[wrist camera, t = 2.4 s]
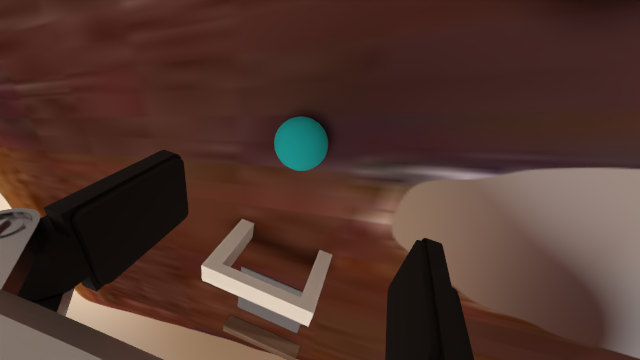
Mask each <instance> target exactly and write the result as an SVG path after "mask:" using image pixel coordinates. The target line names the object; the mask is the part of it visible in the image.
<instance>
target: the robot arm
mask: <svg viewBox="0 0 640 360" xmlns="http://www.w3.org/2000/svg"><path fill="white" fill-rule="evenodd" d="M44 209H45V211H46V213H47V216H45V217H43V218H41V217H40V215H39V213H38V212H36V211H34V210H32V209H26V208H17V209H8V210H2V211H0V360H163V359H161V358H158V357H156V356H154V355H152V354H149V353H147V352H145V351H143V350H140V349H138V348H136V347H134V346H131V345H129V344H127V343H125V342H122V341H120V340H118V339H116V338H113V337H111V336H109V335H106V334H104V333H102V332H100V331H97V330H95V329H93V328H91V327H88V326H86V325H84V324H81V323H79V322H77V321H74V320H72V319H70V318H67V317H65V316H66V313H67V310H68V306H69V304H70V300H71V297H72V294H73V291H74V288H75V286H77V285H78V284H79V283H80V282H81V283H82V285H83V286H85V287H87V288H89V289H92V290H94V291H96V292H97V291H98V290H99V289H100V288H101V287H103V286H104V285H105V284H109V283H111V282H112V281H114V280H115V279H116V278H117V277H118V276H120V275H121V274H122V273H123V272H124V271H125V270H126V269H128V268H129V267H130V266H131V265H132V264H133V263H135V262H136V261H137V260H138V259H139V258H140V257H142V256H143V255H144V254H145V253H146V252H147V251H148V250H150V249H151V248H152V247H153V246H154V245H155V244H157V243H158V242H159V241H160V240H161V239H162V238H163V237H165V236H166V235H167V234H168V233H169V232H170V231H172V230H173V229H174V228H175V227H176V226H177V225H179V224H180V223H181V222H182V221H183V220H184V219H185V218H186V217H187V215H188V201H187V191H186V181H185V171H184V162H183V160H181V157H180V156H179V155H178V154H175V153H172V152H169V151H166V150H162V151H159V152H157V153H155V154H153V155H151V156H149V157H147V158H145V159H143V160H141V161H139V162H137V163H135V164H132V165H130V166H128V167H126V168H124V169H122V170H120V171H118V172H116V173H114V174H112V175H110V176H108V177H106V178H104V179H102V180H100V181H98V182H96V183H93V184H91V185H89V186H87V187H85V188H83V189H81V190H79V191H77V192H75V193H73V194H71V195H69V196H67V197H65V198H63V199H61V200H59V201H57V202H54V203H52V204H50V205H48V206H46V207H44ZM385 360H474V357H473V353H472V349H471V345H470V341H469V336H468V332H467V328H466V324H465V320H464V316H463V311H462V307H461V303H460V299H459V295H458V292H457V291H456V290H455V288H452V286H451V282H450V277H449V272H448V268H447V263H446V259H445V254H444V250H443V246H442V244H441V243H439V242H436V241H433V240H430V239H427V238H424V239H422V241H420V240H417V241H416V242H415V244H414V245H413V247H412V249H411V250H410V252H409V254H408V255H407V257H406V259H405V260H404V262H403V264H402V265H401V267H400V269H399V270H398V272H397V274H396V275H395V277H394V279H393V281H392V282H391V284H390V286H389V289H388V298H387V327H386V356H385Z"/></svg>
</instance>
